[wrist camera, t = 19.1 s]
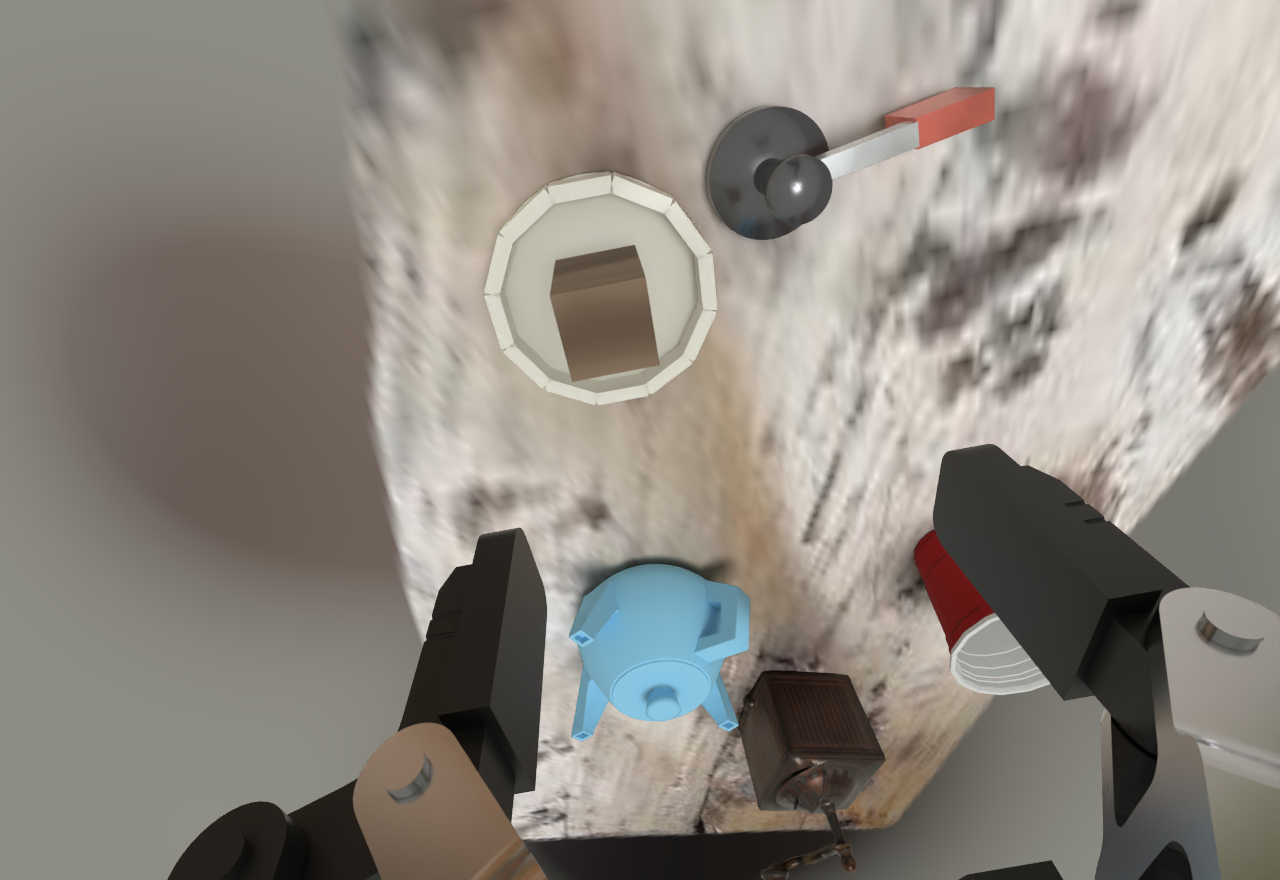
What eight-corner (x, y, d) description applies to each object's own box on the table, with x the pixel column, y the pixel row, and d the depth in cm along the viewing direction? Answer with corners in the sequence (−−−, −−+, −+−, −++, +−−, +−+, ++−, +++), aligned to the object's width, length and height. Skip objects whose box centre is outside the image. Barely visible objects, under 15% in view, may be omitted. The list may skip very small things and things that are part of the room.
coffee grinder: (757, 668, 60) (816, 865, 45) (850, 673, 62) (938, 864, 47) (718, 748, 68) (757, 939, 53) (802, 750, 70) (863, 935, 54)
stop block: (555, 260, 34) (549, 295, 28) (634, 244, 34) (645, 277, 28) (573, 335, 37) (572, 381, 31) (647, 321, 37) (659, 365, 31)
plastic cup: (897, 506, 49) (979, 615, 39) (1015, 496, 49) (1126, 601, 39) (874, 592, 55) (940, 706, 45) (980, 582, 55) (1068, 693, 45)
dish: (445, 278, 35) (436, 290, 33) (614, 115, 31) (616, 117, 29) (593, 420, 42) (594, 439, 39) (748, 300, 38) (758, 313, 35)
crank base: (682, 165, 33) (703, 181, 27) (782, 76, 31) (828, 73, 25) (746, 257, 36) (777, 289, 30) (841, 181, 34) (893, 200, 28)
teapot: (717, 655, 58) (743, 760, 49) (572, 662, 57) (571, 772, 47) (738, 546, 50) (773, 648, 41) (570, 551, 48) (567, 657, 39)
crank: (795, 179, 33) (817, 189, 30) (790, 152, 32) (812, 159, 29) (956, 116, 32) (996, 119, 29) (955, 87, 31) (996, 87, 28)
